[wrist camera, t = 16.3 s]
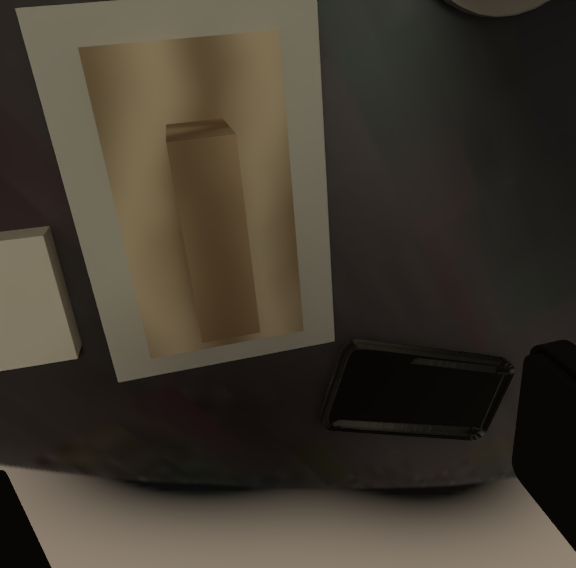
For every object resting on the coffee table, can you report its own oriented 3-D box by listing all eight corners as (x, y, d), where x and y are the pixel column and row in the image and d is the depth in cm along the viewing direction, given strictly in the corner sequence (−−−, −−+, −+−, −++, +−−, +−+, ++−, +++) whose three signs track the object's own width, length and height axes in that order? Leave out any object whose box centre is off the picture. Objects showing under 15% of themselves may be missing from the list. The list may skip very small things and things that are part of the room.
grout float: (274, 30, 27) (308, 24, 21) (299, 322, 35) (329, 382, 29) (81, 47, 26) (53, 46, 19) (151, 349, 34) (147, 419, 27)
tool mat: (313, -14, 27) (316, -15, 27) (332, 337, 37) (334, 341, 36) (18, 9, 25) (15, 8, 25) (119, 377, 35) (118, 382, 34)
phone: (482, 441, 44) (319, 430, 39) (474, 432, 45) (315, 420, 40) (519, 362, 41) (348, 341, 36) (511, 355, 42) (344, 333, 37)
